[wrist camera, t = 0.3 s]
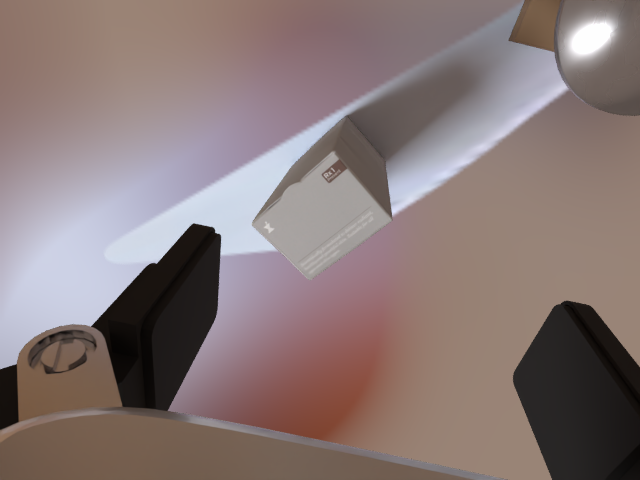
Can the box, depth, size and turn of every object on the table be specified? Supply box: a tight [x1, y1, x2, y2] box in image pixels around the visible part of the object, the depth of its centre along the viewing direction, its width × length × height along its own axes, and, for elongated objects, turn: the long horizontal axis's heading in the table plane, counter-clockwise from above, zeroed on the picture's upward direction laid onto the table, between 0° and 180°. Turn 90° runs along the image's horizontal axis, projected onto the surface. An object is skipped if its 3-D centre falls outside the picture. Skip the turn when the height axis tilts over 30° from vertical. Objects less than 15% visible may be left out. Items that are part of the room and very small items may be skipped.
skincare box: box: [252, 116, 393, 280], centre depth 34 cm, size 8×7×16 cm
